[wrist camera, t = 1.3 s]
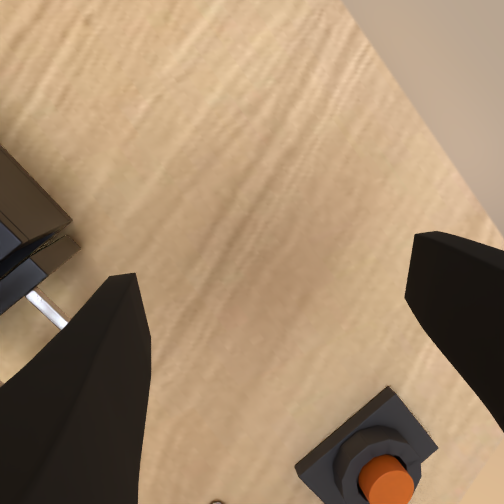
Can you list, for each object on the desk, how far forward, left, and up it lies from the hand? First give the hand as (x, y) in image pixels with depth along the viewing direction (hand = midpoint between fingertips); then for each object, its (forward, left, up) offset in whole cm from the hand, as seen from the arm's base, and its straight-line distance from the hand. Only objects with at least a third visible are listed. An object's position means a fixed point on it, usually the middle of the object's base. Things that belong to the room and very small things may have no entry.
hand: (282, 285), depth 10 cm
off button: (-3, -23, -15) cm, 28 cm away
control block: (-3, -23, -17) cm, 29 cm away
